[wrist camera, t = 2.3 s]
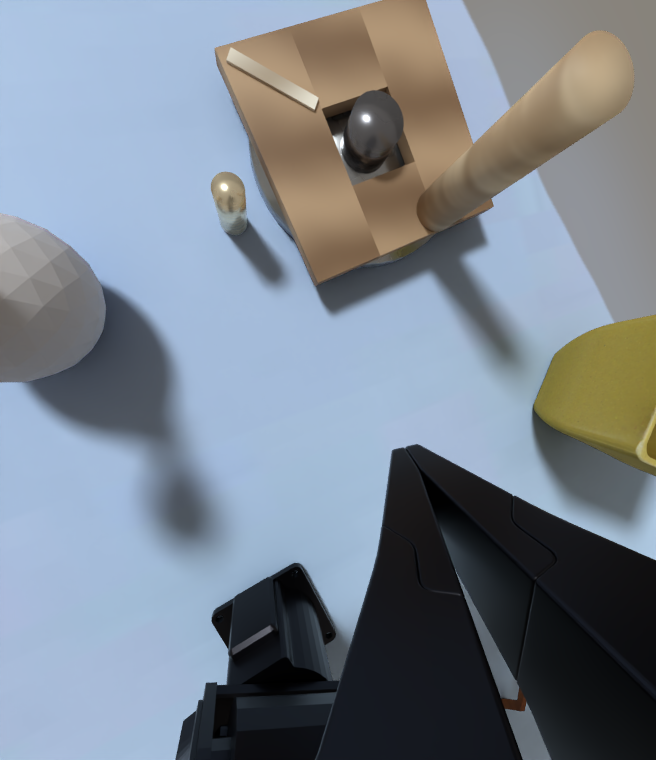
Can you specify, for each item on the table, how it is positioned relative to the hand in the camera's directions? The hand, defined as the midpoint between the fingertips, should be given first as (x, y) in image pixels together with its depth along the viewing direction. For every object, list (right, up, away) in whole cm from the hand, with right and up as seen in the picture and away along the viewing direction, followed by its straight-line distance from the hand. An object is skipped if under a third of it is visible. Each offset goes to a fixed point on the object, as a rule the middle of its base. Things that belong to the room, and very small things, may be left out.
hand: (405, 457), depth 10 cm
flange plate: (0, +17, +10) cm, 20 cm away
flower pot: (+17, +1, +16) cm, 24 cm away
